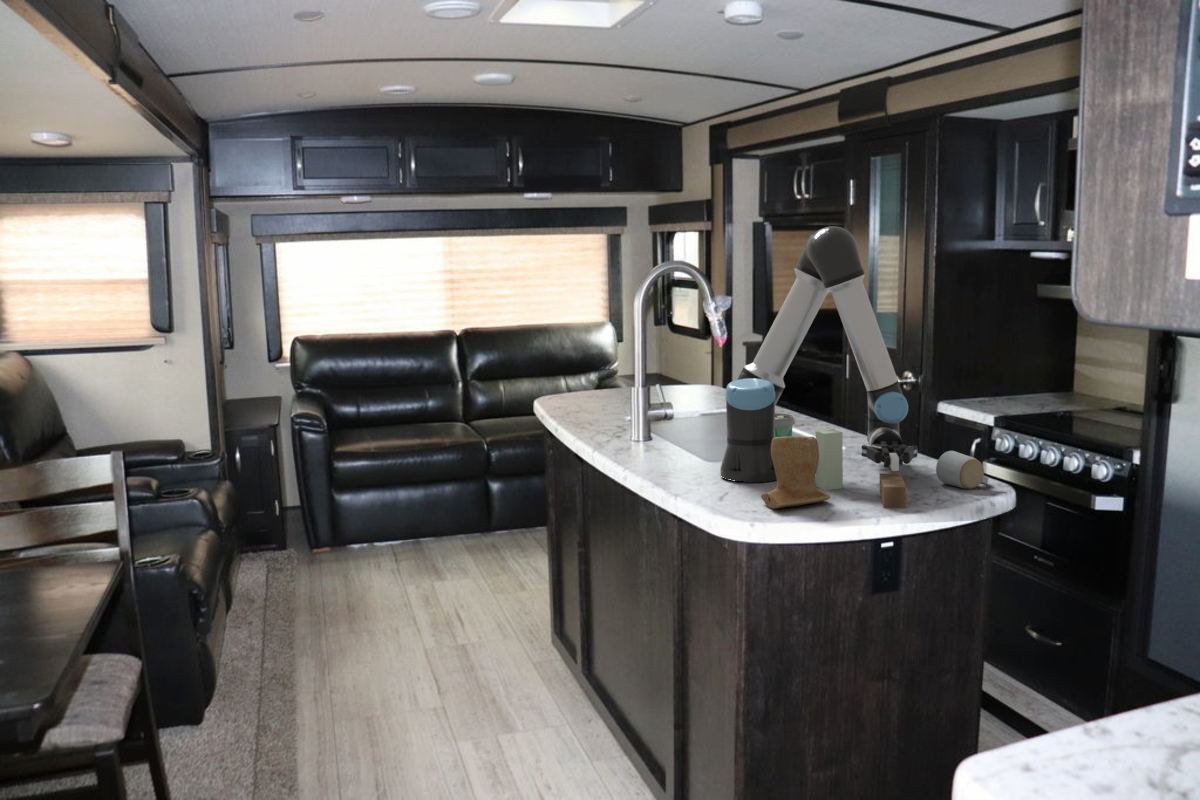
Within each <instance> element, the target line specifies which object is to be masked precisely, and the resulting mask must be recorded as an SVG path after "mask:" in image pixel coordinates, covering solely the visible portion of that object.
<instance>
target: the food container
mask: <svg viewBox="0 0 1200 800" xmlns="http://www.w3.org/2000/svg"><path fill="white" fill-rule="evenodd" d="M795 421H796V420H795V418H794V415H793V414H790V413H780V412H778V413H777V412H775V437H791V436H793V425H795V423H796V422H795Z"/></svg>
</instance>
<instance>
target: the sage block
mask: <svg viewBox="0 0 1200 800" xmlns="http://www.w3.org/2000/svg"><path fill="white" fill-rule="evenodd" d="M815 438H816V440H817V442H818V448H819V462H818V467H817V471H816V475H815V487H816V488H819V489H821V490H823V489H824V491H827V490H828V491H829V490H838V489H839V490H841V489H843V487H844V485H843V483H844V478H843V477H844V475H843V474H844V471H843V470H844V469H843V468H844V466H843V461H844V460H843V459H844V458H843V457H844V456H843V443H844V442H843V441H844V440H843V438H844V437H843V431H839V430H836V429H832V428H831V429H821V430H815Z"/></svg>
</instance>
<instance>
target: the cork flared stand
mask: <svg viewBox="0 0 1200 800" xmlns="http://www.w3.org/2000/svg"><path fill="white" fill-rule="evenodd" d="M771 457H772V461H773V464H774V468H775V473H776V478H777V480H776V486H775V488H774V489H772V490H770V491H766V492H764V493H762V494H761V495H760V499H761V500H762V501H763V503H764V504H765V505H766V506H767V507H768V508H770V509H784V508H790V507H791V508H792V507H798V506H804V505H810V504H815V503H816V504H817V503H820V502H823V501H828V500H830V499H831V498H832V497H831V495H830V494H828V493H826V492H824V491H822V490H820V489H818V487H817V486H816V471H817V467H818V462H819V448H818V442H817V440H816V436H803V435H802V436H795V435H794V436H793V435H792V436H791V437H774V438H773V439H772V443H771Z"/></svg>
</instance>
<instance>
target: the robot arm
mask: <svg viewBox="0 0 1200 800" xmlns="http://www.w3.org/2000/svg"><path fill="white" fill-rule="evenodd" d="M861 261H862V260H861V257H860V253H859V249H858V244H857V241H856V239H855V237H854V236H853V234H852V233H851V232H850V231H849V230H847V229H846V228H844V227H841V226H836V225H835V226H834V225H833V226H826V227H823V228H821V229H818V230H817V231H815V232H814V233H812V234H811V236H809V238H808V239H807V241H806V243H805V246H804V249H803V251H802V253H801V255H800V257H799V259H798V261H797V263H796V265H795V267H794V268H793V270H794V272H795V277H796V278H795V280H794V283H793V284H792V286H791V288H790V290H789V292H788V294H787V296H786V297H785V298H784V302H783V303H782V305H781V307H780V309H779V311H778V313H777V315H776V317H775V319H774V320H773V323H772V325H771V326H770V328H769V331H768V332H767V334H766V336H765V337H764V340H763V342H762V344H761V346H760V348H759V349H758V351H757V354H756V355H755V357H754V359H753V362H751V363H748V364H746V365H743V368H742V370H741V372H740V374H739V375H738V378H737V379H735V380H733V381H731V382H729V383H727V385H726V388H725V400H726V401H725V405H726V448H725V452H724V455H723V459H722V462H721V465H720V477H721V476H722V477H724V478H726V479H731V480H735V481H744V482H743V483H765V482H766V483H767V481H768V482H773V481H777V478H776V473H775V468H774V464H773V461H772V457H771V443H772V439H773V438H774V437H775V413H776V408H775V407H776V405H777V403H778V401H779V399H780V397H781V396H782V393H783V391H784V389H785V387H786V384H785V381H784V376H785V375H786V373H787V370H788V369H789V367H790V365H791V363H792V362H793V360H794V358H795V356H796V355H797V352H798V350H799V349H800V346H801V344H802V343H803V341H804V339H805V337H806V335H807V334H808V331H809V329H810V327H811V325H812V324H813V321H814V319H816V316H817V314H818V312H819V310H820V308H821V307H822V304H823V302H824V301H825V299H826V297H827V296H828V294H829V293H831V295H832V299H833V302H834V305H835V306H836V309H837V312H838V315H839V317H840V321H841V323H842V325H843V328H844V331H845V335H846V337H847V340H848V342H849V346H850V348H851V351H852V354H853V356H854V358H855V361H856V364H857V368H858V369H859V372H860V373H859V374H860V375H861V378H862V380H863V383H864V387H865V389H866V392H867V393H866V394H867V415H868V416H867V433H866V435H867V437H866V438H867V442H868V445H866V444H862V445H861V457H864V458H867V459H868V460H871V461H872V462H873V463H875V464H881V463H883V467H884V468H890V470H891V471H893V472H899V471H900V466H902V465H903V464H905V465H908V464H910V463H911V461H913V459H914V458H917V457H918V445H915V444H913V445H908V446H907V445H906V444H904V441H903V439H902V437H901V435H900V422H901V421H903V420H904V419H905V418H906V417H907V415H908V412H909V403H908V401H907V398H906V397H905V396H904V393H903V390H902V388H901V385H900V383H899V379H898V377H897V374H896V371H895V368H894V365H893V363H892V360H891V357H890V353H889V351H888V348H887V346H886V343H885V340H884V338H883V335H882V332H881V329H880V326H879V323H878V321H877V317H876V315H875V311H874V309H873V306H872V304H871V300H870V299H869V296H868V293H867V290H866V288H865V287H866V286H865V285H864V282H863V281H864V279H865V276H866V274H865V271H864V268H863V265H862V262H861ZM735 481H734V482H735Z"/></svg>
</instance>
